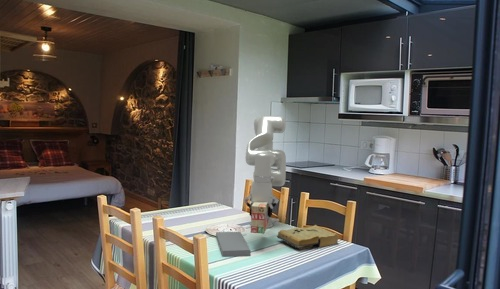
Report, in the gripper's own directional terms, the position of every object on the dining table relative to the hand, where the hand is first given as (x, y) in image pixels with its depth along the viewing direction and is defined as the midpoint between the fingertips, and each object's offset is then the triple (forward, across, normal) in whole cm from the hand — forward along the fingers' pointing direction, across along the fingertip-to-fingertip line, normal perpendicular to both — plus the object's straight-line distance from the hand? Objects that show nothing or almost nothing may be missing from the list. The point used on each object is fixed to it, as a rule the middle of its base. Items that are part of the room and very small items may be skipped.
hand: (260, 216), depth 177 cm
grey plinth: (+13, +13, +2) cm, 19 cm away
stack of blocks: (+5, 0, -1) cm, 5 cm away
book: (+14, -24, 0) cm, 27 cm away
